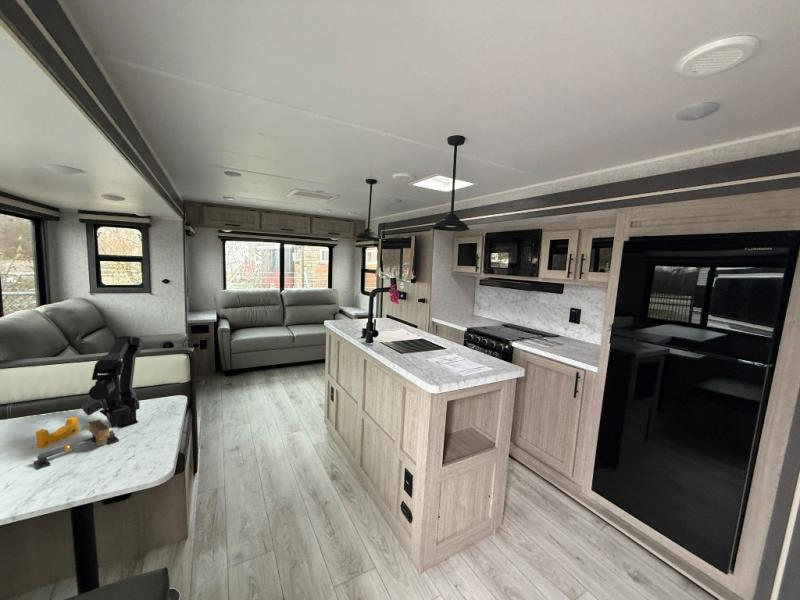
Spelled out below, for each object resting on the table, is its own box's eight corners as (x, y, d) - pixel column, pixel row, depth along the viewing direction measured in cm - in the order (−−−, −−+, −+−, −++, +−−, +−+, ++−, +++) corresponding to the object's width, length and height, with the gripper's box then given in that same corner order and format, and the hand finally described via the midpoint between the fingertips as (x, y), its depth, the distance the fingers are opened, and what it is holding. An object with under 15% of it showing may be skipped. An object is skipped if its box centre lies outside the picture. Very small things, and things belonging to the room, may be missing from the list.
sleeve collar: (99, 436, 130) (98, 419, 130) (110, 446, 124) (109, 428, 123) (89, 439, 128) (88, 422, 127) (100, 449, 122) (98, 431, 121)
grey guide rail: (113, 436, 132) (113, 427, 131) (119, 441, 129) (118, 431, 128) (33, 463, 113) (32, 452, 113) (37, 469, 110) (36, 458, 110)
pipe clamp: (69, 431, 135) (68, 416, 134) (78, 432, 134) (77, 417, 134) (33, 447, 123) (31, 431, 123) (42, 448, 123) (41, 432, 122)
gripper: (75, 390, 125) (77, 428, 127) (91, 402, 116) (94, 443, 117) (111, 382, 135) (114, 417, 136) (129, 392, 125) (131, 430, 127)
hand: (112, 427), depth 129 cm, fingers closed
